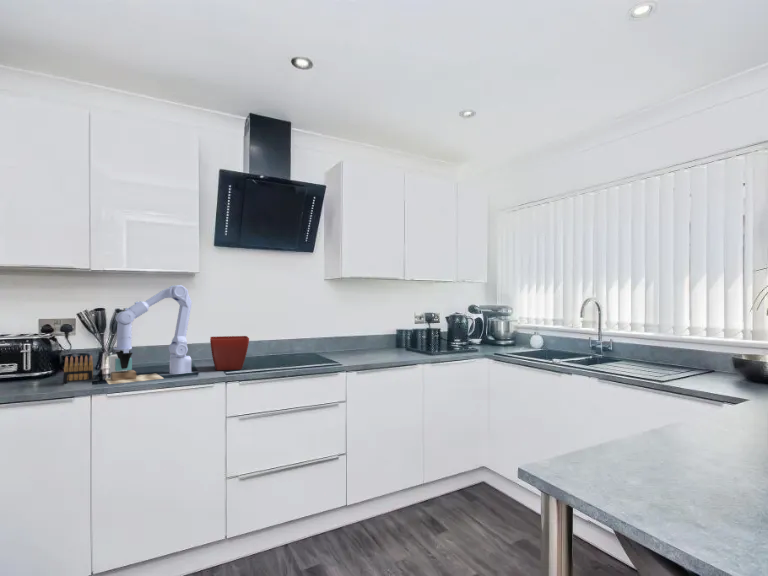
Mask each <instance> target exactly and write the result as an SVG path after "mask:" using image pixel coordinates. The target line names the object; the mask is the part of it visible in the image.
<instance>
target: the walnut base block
mask: <svg viewBox="0 0 768 576" xmlns="http://www.w3.org/2000/svg"><path fill="white" fill-rule="evenodd" d="M136 375H137V371H135V370H134V369H132V370H127V371H118V372H111V375H110V378H111V380H112V381H118V380H128V379H136Z"/></svg>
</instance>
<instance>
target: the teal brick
mask: <svg viewBox="0 0 768 576" xmlns="http://www.w3.org/2000/svg"><path fill="white" fill-rule="evenodd" d="M115 370H116V371H123V370H127V371H129V370H133V358H132V357H130V359H129V363H128V367H127V368H123V369H122V368H121V363H120V358H119V359H115Z"/></svg>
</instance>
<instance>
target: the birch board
mask: <svg viewBox="0 0 768 576" xmlns="http://www.w3.org/2000/svg"><path fill="white" fill-rule="evenodd" d="M163 379H165V378H164V377H163V376H161V375H160V374H158V373H149V374H148V373H147V374H136V379H128V380H118V381H112V380H111V377H105V378H104V380H105V381H106V383H107V384H108V385H114V384H115V385H117V384H126V383H137V382H145V381H153V380H156V381H157V380H163Z"/></svg>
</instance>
